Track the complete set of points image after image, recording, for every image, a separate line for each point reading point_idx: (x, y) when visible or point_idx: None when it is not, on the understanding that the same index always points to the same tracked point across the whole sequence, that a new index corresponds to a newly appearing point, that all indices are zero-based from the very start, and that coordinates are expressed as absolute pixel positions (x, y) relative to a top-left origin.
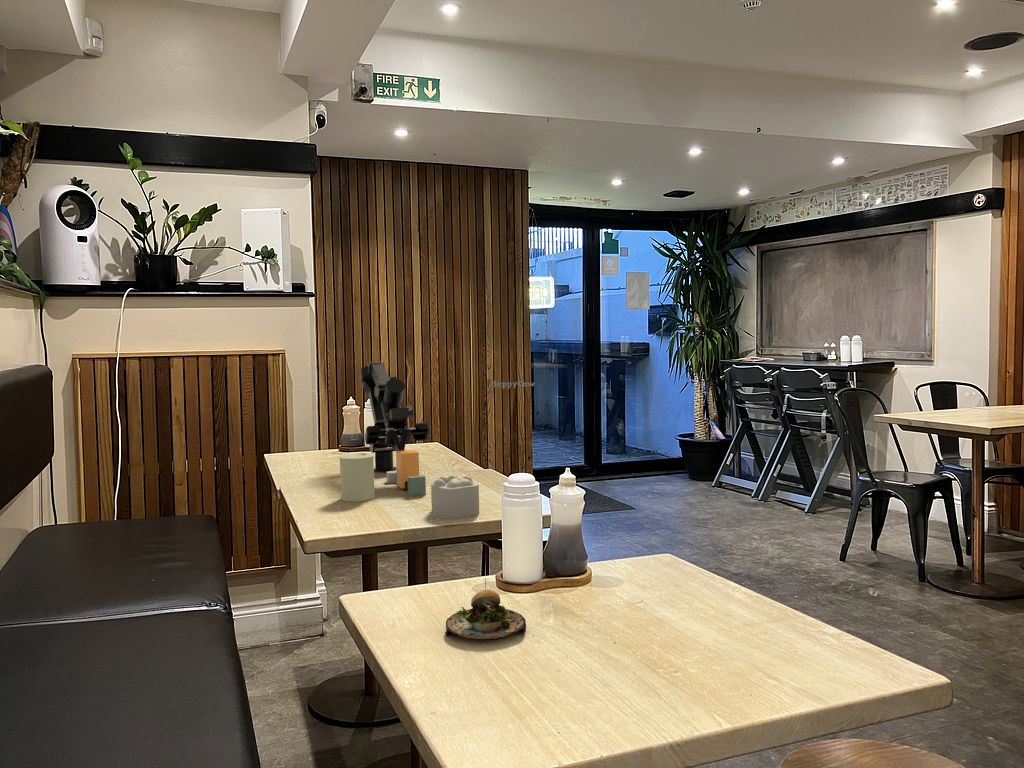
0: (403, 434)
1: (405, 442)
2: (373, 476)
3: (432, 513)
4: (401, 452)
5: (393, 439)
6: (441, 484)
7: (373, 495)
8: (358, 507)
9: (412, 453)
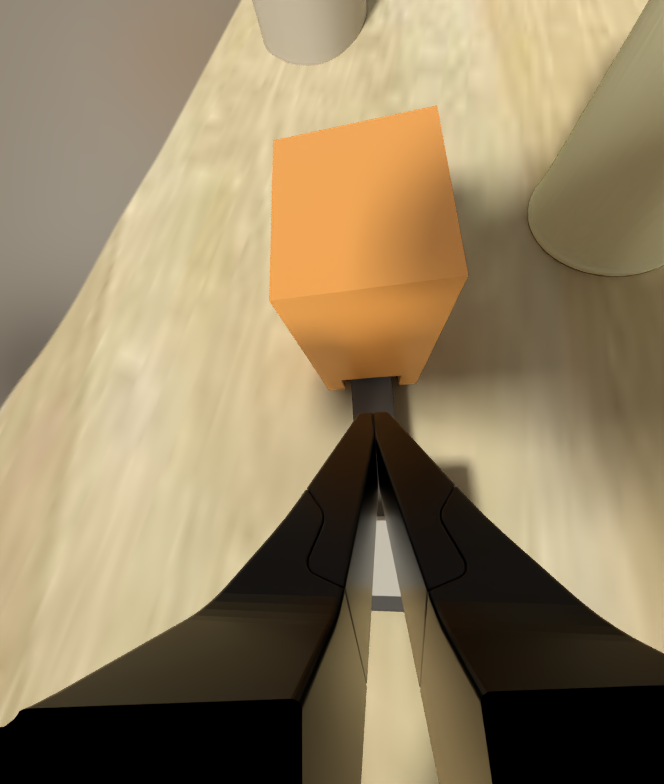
0: (245, 679)
1: (291, 510)
2: (597, 92)
3: (366, 9)
4: (418, 169)
5: (562, 592)
6: None
7: (541, 182)
8: (590, 82)
9: (326, 136)
